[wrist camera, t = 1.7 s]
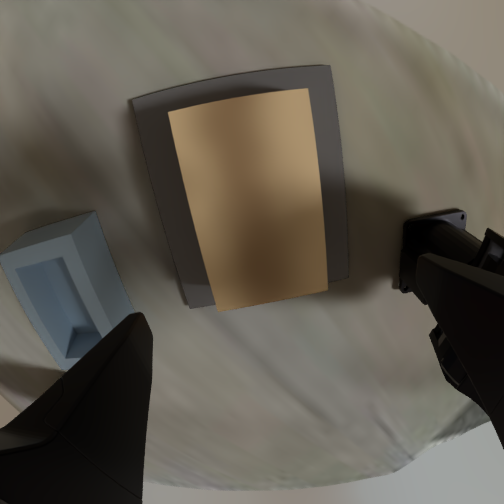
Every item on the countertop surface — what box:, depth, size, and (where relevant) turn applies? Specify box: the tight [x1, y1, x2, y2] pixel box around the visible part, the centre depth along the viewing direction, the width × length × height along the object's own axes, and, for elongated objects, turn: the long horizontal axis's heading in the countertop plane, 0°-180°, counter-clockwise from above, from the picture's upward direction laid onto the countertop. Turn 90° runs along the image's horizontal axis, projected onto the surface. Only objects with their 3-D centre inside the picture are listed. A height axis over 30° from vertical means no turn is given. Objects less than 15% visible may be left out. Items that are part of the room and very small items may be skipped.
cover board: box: [168, 88, 328, 312], centre depth 18 cm, size 7×12×3 cm, turn 9°
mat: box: [132, 65, 349, 309], centre depth 19 cm, size 12×15×1 cm
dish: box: [0, 211, 135, 370], centre depth 19 cm, size 7×10×4 cm, turn 10°
